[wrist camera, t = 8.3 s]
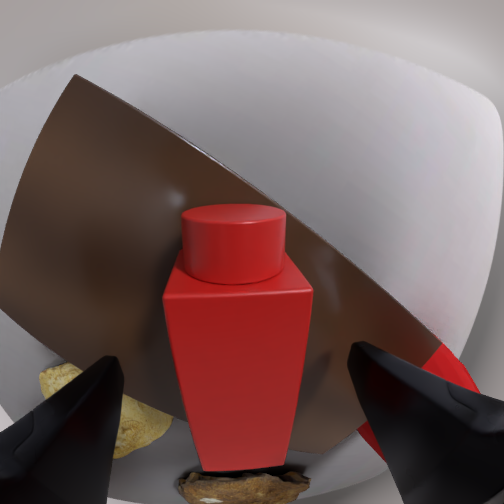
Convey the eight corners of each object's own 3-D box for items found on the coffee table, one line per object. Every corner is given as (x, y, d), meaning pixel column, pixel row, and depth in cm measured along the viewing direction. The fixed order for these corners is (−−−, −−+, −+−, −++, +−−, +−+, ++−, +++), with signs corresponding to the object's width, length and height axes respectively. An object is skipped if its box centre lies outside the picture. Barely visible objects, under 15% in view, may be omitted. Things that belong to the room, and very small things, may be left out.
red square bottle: (270, 410, 10) (284, 465, 7) (201, 415, 9) (203, 472, 7) (282, 201, 7) (321, 224, 5) (176, 203, 7) (152, 228, 4)
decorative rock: (303, 443, 22) (164, 461, 22) (312, 474, 18) (160, 490, 18) (310, 481, 25) (201, 496, 25) (317, 504, 21) (200, 519, 21)
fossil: (86, 418, 9) (175, 491, 13) (130, 346, 15) (192, 432, 18) (5, 388, 12) (78, 460, 15) (42, 345, 17) (100, 418, 21)
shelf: (295, 382, 18) (322, 454, 12) (59, 250, 13) (-8, 301, 7) (380, 288, 16) (442, 343, 10) (134, 109, 11) (74, 73, 5)
